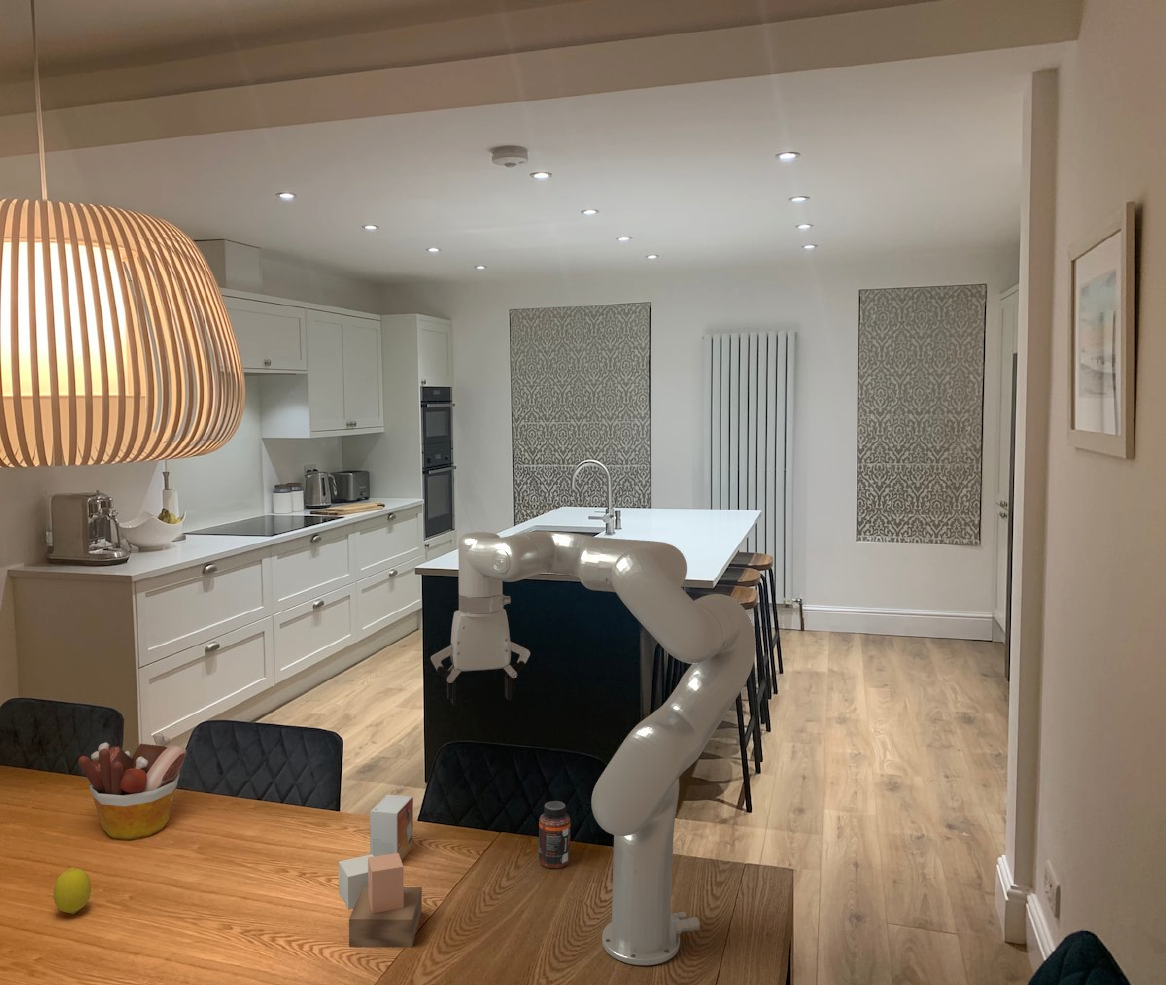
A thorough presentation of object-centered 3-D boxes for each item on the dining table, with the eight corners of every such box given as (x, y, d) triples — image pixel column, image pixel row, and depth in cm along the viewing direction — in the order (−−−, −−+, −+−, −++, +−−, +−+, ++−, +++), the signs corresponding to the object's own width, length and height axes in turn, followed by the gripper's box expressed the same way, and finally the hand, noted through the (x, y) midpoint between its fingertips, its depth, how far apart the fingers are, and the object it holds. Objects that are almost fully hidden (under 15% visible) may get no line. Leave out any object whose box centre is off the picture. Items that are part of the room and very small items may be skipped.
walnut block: (421, 914, 155) (421, 886, 155) (411, 949, 145) (411, 919, 145) (362, 914, 155) (362, 886, 155) (348, 948, 145) (348, 919, 145)
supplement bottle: (574, 866, 172) (575, 809, 171) (544, 872, 170) (545, 813, 169) (563, 852, 178) (564, 796, 177) (534, 857, 175) (535, 800, 174)
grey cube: (372, 885, 164) (372, 853, 164) (382, 901, 159) (382, 868, 158) (339, 893, 161) (338, 861, 161) (347, 910, 156) (347, 876, 155)
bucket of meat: (133, 804, 195) (131, 714, 194) (201, 812, 192) (200, 721, 190) (62, 847, 176) (58, 747, 174) (136, 857, 172) (133, 756, 171)
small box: (397, 867, 170) (397, 813, 170) (369, 864, 172) (369, 810, 171) (413, 847, 178) (413, 796, 177) (386, 844, 179) (386, 793, 178)
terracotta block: (398, 892, 153) (398, 852, 152) (403, 907, 148) (403, 866, 148) (368, 897, 151) (368, 857, 151) (372, 913, 147) (372, 871, 146)
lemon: (57, 908, 155) (55, 862, 154) (94, 902, 157) (92, 857, 156) (51, 925, 150) (49, 878, 149) (89, 919, 152) (87, 873, 151)
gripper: (525, 597, 164) (525, 690, 165) (428, 602, 159) (429, 698, 160) (534, 605, 156) (534, 703, 158) (432, 611, 152) (433, 711, 153)
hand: (481, 700), depth 159 cm, fingers open, 9 cm apart
